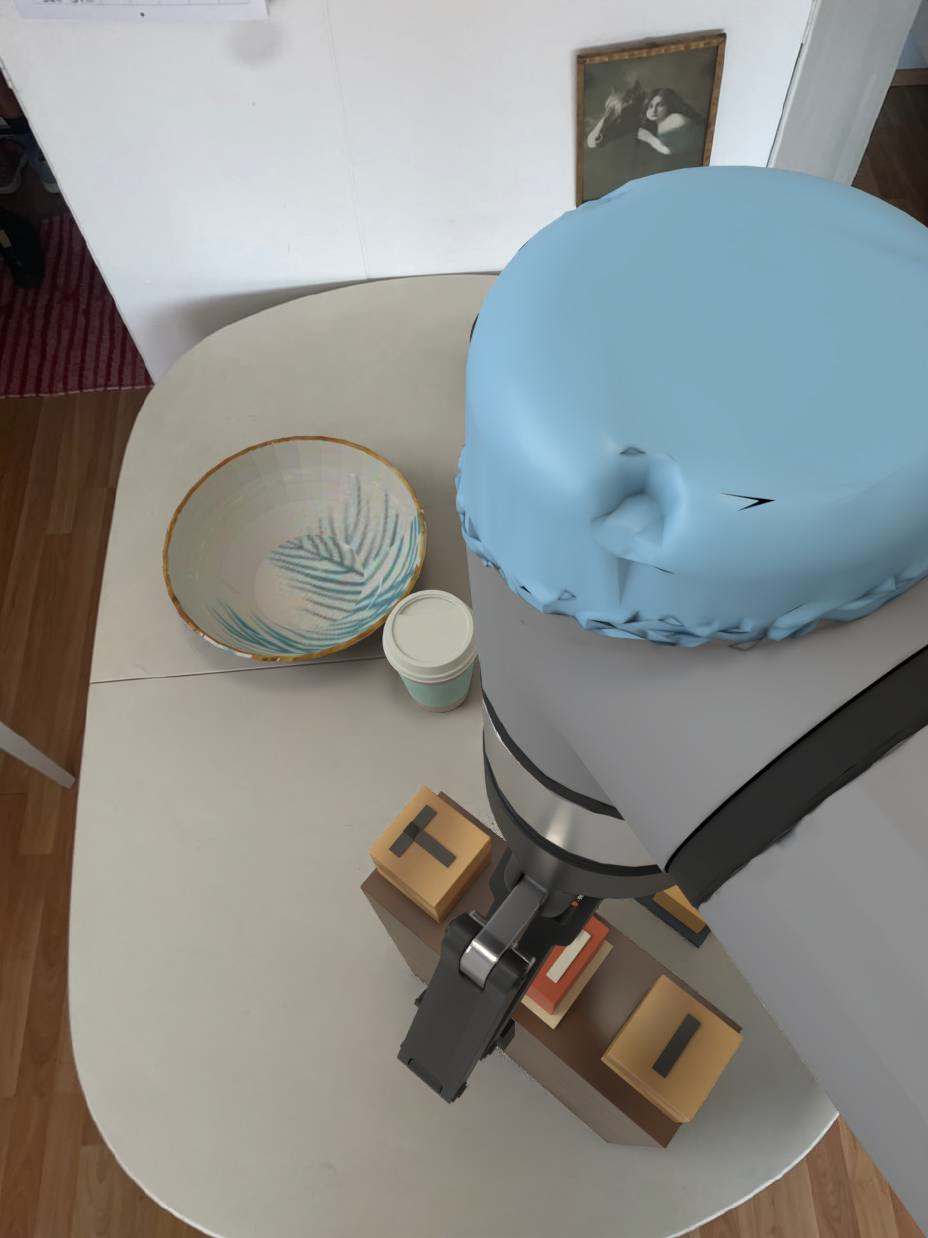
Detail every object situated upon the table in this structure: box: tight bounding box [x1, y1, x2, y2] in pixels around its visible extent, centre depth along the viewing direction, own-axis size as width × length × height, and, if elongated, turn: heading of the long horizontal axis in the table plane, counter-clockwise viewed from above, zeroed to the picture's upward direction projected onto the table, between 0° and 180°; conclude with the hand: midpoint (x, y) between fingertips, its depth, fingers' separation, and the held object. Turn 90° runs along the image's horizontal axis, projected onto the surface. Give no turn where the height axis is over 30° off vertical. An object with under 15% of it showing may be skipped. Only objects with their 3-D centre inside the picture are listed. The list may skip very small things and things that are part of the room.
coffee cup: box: [382, 589, 478, 713], centre depth 89 cm, size 8×8×12 cm
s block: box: [526, 901, 610, 1015], centre depth 50 cm, size 4×4×5 cm
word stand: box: [359, 785, 745, 1150], centre depth 64 cm, size 20×7×37 cm, turn 51°
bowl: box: [162, 435, 428, 663], centre depth 97 cm, size 25×25×8 cm
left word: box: [633, 885, 712, 949], centre depth 83 cm, size 13×6×5 cm, turn 51°
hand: (575, 897), depth 45 cm, fingers open, 13 cm apart
